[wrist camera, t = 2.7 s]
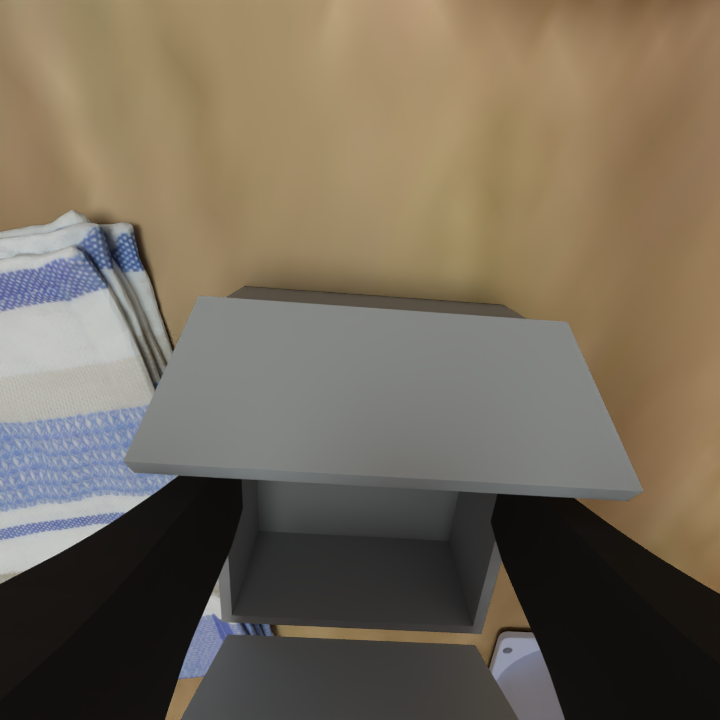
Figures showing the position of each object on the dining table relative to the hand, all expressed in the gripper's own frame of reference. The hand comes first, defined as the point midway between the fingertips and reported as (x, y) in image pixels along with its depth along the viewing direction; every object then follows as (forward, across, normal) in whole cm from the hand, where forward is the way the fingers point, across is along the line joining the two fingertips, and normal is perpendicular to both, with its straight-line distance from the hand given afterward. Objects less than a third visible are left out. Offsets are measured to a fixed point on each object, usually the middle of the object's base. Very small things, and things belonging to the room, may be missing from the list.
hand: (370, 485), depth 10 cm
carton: (+6, 0, +2) cm, 6 cm away
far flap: (-1, 0, +7) cm, 7 cm away
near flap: (-1, 0, -3) cm, 3 cm away
